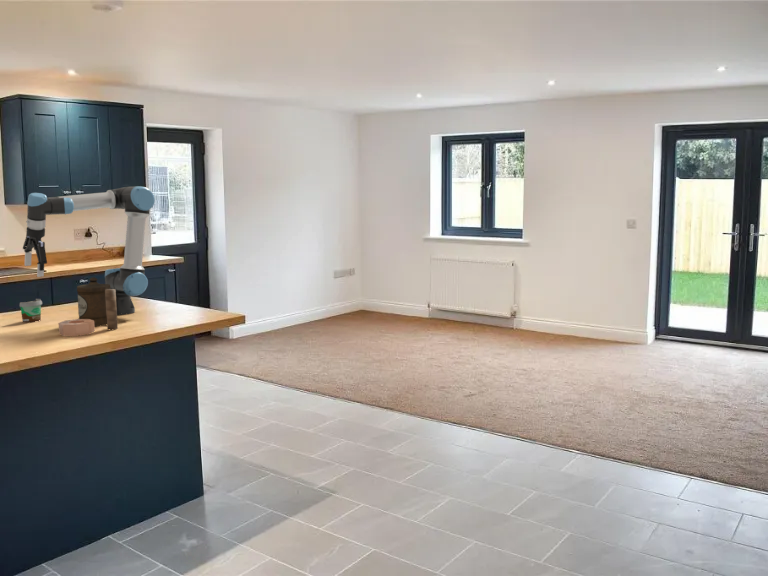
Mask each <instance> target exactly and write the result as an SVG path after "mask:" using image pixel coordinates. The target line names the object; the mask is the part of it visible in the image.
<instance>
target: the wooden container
mask: <svg viewBox="0 0 768 576" xmlns="http://www.w3.org/2000/svg"><path fill="white" fill-rule="evenodd" d="M107 289H110V285H109V284H105V283H99V282H98V278H96V277H95V276H94V277H93V276H92V277H90V278H89V283H88V284H81V285H77V286H76V291H77V307H78V308H77V310H78V319H91V320H94V325H95V327H99V326H100V325H101V326H105V325H106V324H107V314H106V297H105V290H107ZM106 326H107V325H106Z"/></svg>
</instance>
